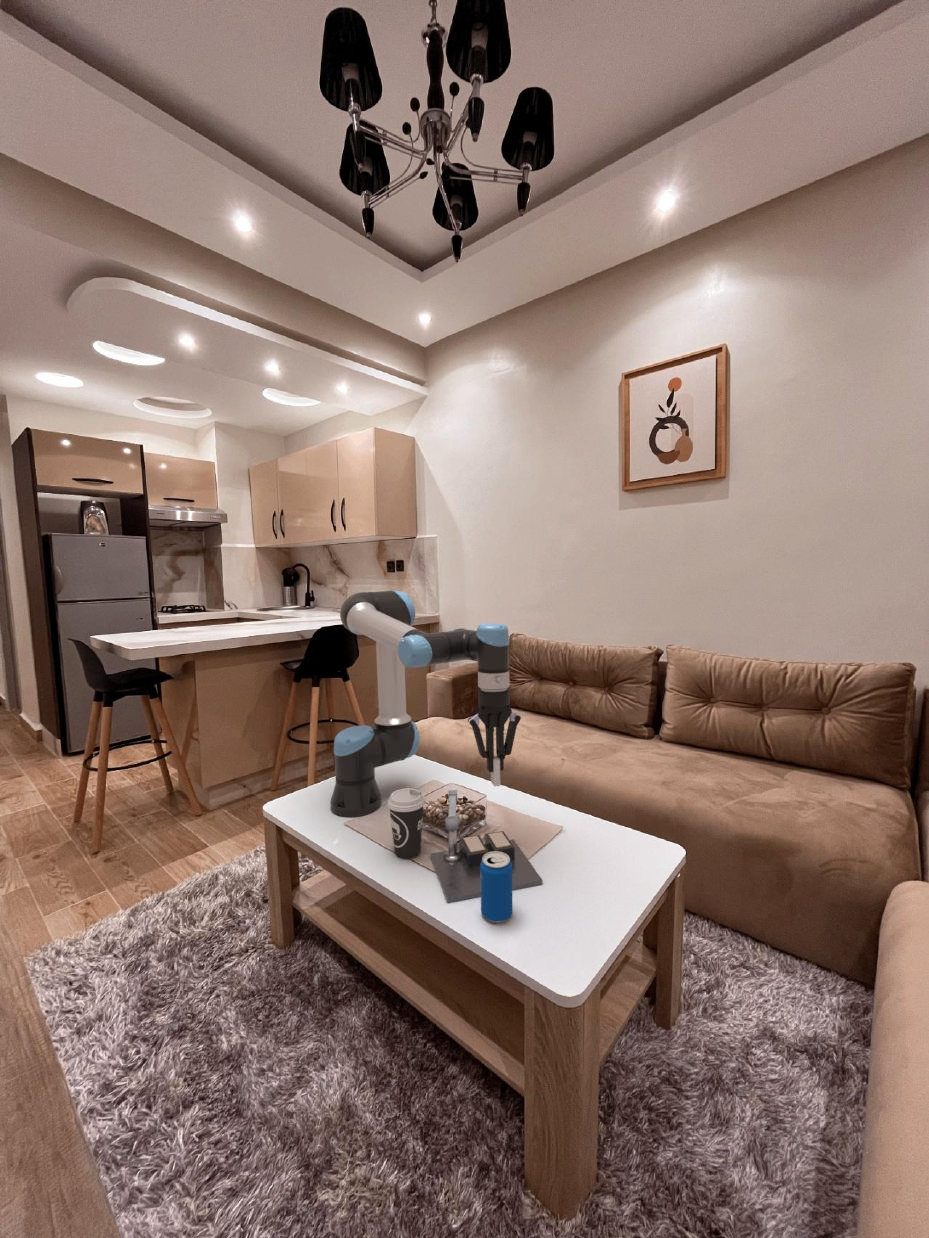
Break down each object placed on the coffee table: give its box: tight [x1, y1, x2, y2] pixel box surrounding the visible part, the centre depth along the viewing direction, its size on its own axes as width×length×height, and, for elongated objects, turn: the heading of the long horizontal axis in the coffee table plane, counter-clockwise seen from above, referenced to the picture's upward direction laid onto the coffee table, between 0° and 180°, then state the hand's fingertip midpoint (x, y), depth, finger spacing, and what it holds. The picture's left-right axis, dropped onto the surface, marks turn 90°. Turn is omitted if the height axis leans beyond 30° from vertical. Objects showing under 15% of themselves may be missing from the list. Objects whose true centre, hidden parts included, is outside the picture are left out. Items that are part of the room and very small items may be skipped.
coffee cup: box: [386, 787, 426, 860], centre depth 125 cm, size 10×10×15 cm
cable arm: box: [445, 789, 460, 831], centre depth 129 cm, size 3×18×2 cm, turn 1°
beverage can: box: [480, 851, 514, 924], centre depth 102 cm, size 6×6×12 cm
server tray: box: [429, 830, 543, 904], centre depth 118 cm, size 18×22×8 cm
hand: (495, 783), depth 121 cm, fingers closed
